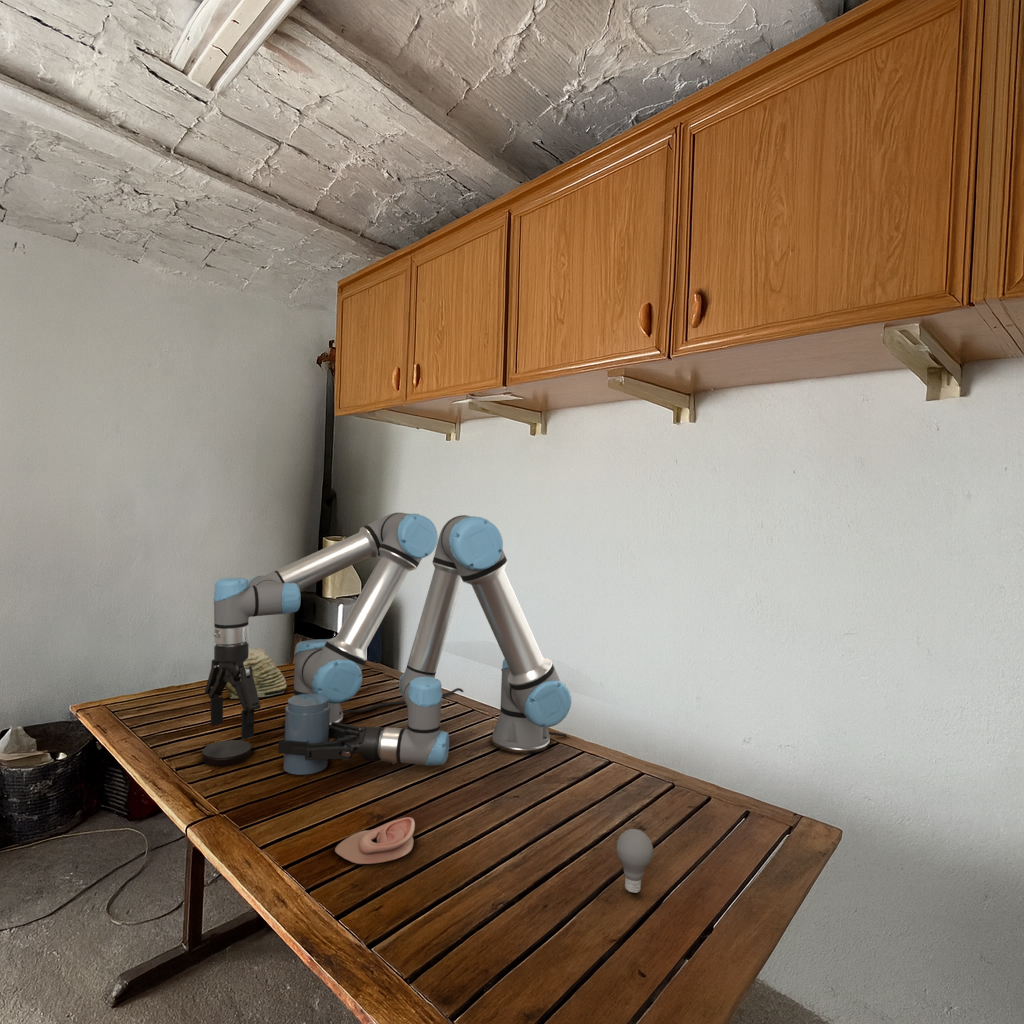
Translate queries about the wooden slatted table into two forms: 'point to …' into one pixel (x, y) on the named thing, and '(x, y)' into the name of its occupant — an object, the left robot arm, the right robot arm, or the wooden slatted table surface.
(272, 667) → the fossil
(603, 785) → the wooden slatted table surface
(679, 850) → the wooden slatted table surface
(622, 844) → the light bulb
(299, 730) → the jar
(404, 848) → the anatomical model
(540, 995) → the wooden slatted table surface
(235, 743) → the lid
